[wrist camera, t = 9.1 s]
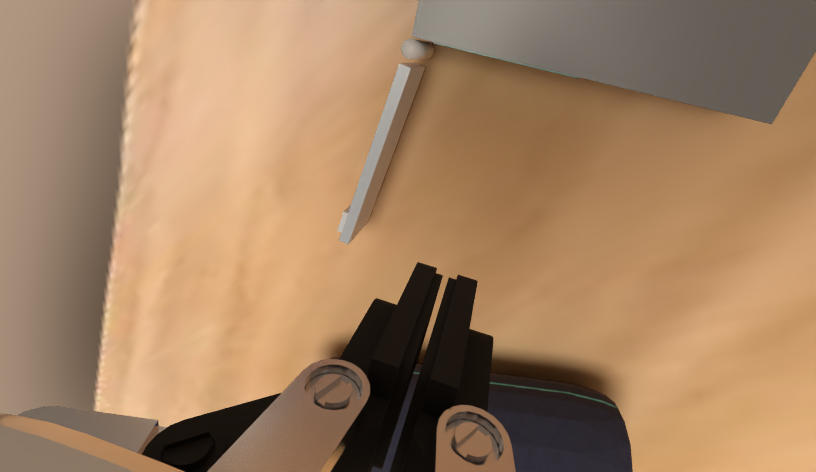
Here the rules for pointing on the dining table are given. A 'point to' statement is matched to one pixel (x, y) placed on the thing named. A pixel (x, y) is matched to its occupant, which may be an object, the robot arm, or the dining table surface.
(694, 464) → the dining table surface
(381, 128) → the thin grey plank
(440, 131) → the dining table surface
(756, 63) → the camera body
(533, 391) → the portable speaker
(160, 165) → the dining table surface
